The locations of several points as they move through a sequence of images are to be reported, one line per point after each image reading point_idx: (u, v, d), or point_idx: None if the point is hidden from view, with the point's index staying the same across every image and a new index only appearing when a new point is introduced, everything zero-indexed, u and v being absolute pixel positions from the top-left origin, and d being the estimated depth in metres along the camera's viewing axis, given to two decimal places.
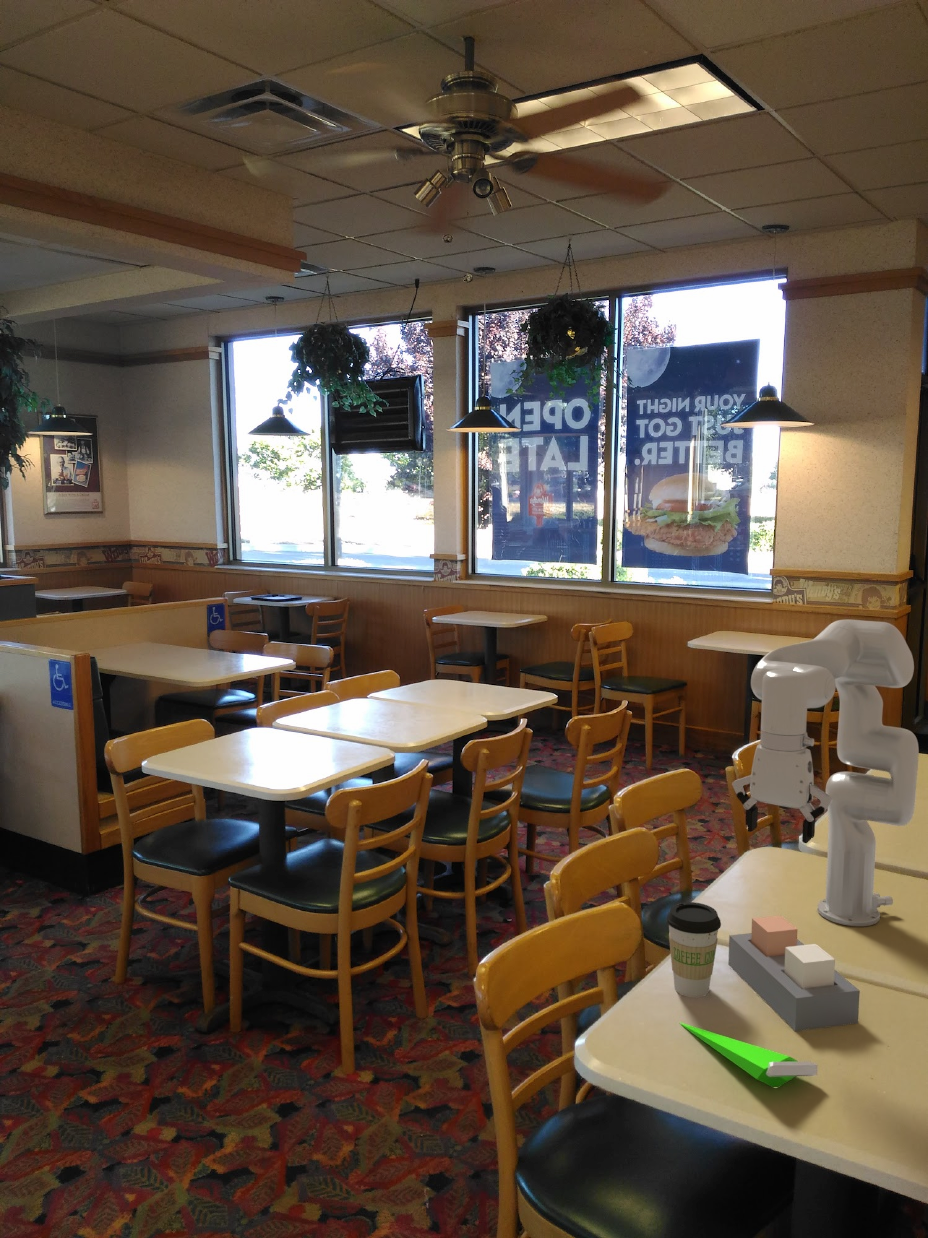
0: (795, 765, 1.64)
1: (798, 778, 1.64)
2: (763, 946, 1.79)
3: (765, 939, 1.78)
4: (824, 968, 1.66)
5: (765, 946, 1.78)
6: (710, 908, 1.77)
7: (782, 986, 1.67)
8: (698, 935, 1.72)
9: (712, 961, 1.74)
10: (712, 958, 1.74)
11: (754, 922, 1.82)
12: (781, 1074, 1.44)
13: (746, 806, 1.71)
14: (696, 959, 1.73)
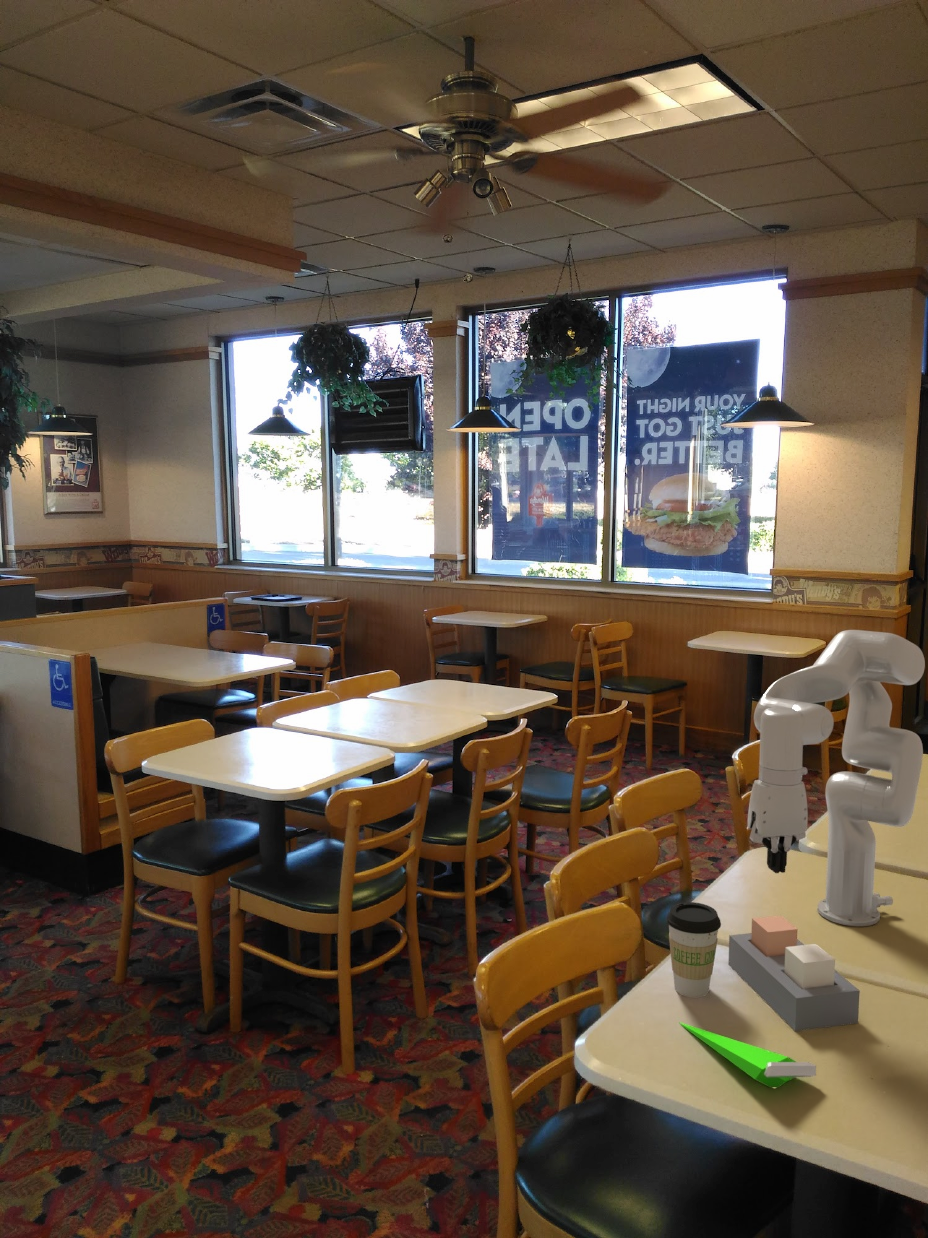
0: (801, 795, 1.76)
1: (803, 806, 1.76)
2: (763, 946, 1.79)
3: (765, 939, 1.78)
4: (824, 968, 1.66)
5: (765, 946, 1.78)
6: (710, 908, 1.77)
7: (782, 986, 1.67)
8: (698, 935, 1.72)
9: (712, 961, 1.74)
10: (712, 958, 1.74)
11: (754, 922, 1.82)
12: (779, 1074, 1.44)
13: (774, 850, 1.77)
14: (696, 959, 1.73)
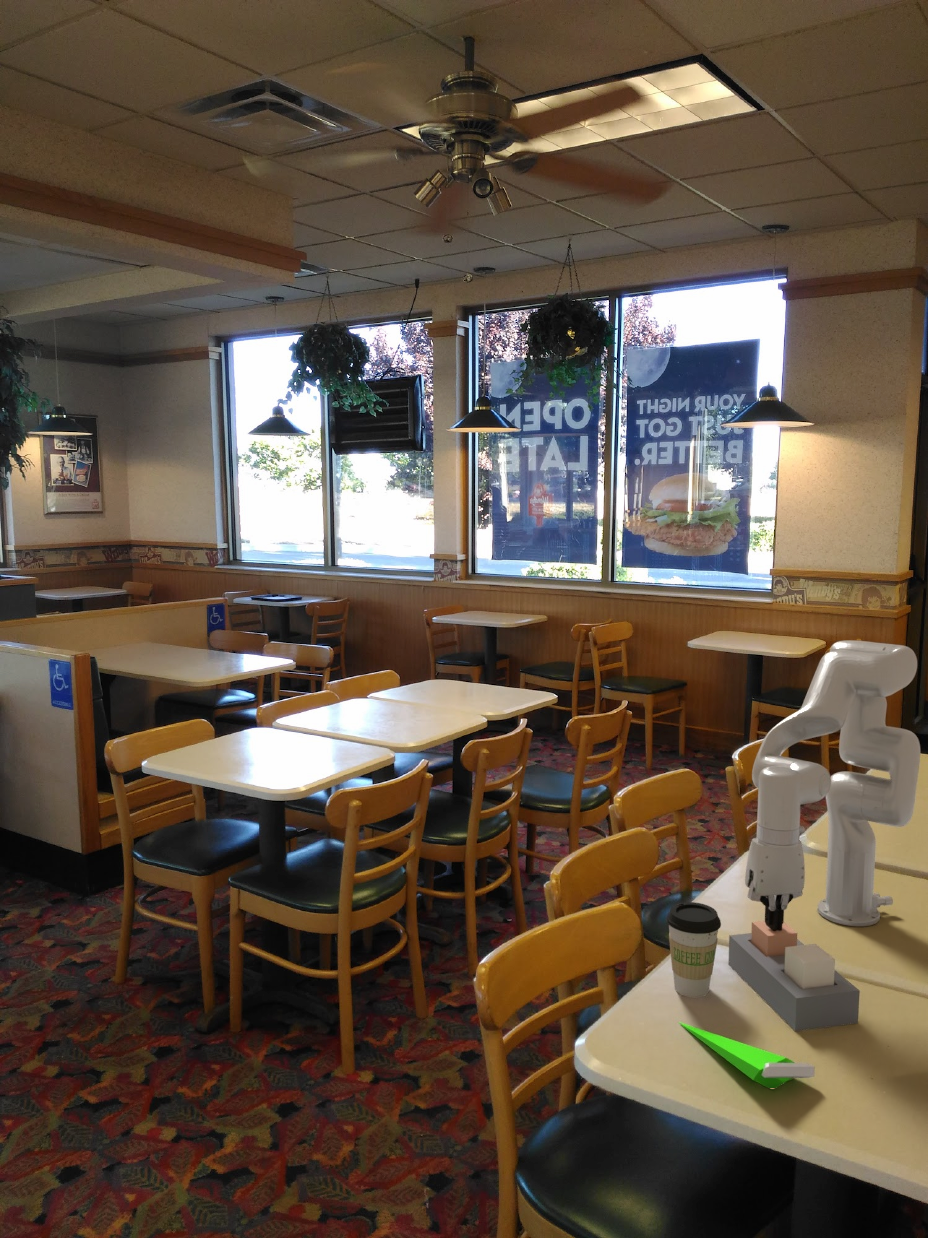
0: (798, 854, 1.77)
1: (800, 865, 1.78)
2: (763, 950, 1.79)
3: (765, 942, 1.78)
4: (824, 968, 1.66)
5: (765, 950, 1.78)
6: (710, 908, 1.77)
7: (782, 986, 1.67)
8: (698, 935, 1.72)
9: (712, 961, 1.74)
10: (712, 958, 1.74)
11: (754, 926, 1.82)
12: (777, 1075, 1.44)
13: (772, 908, 1.79)
14: (696, 959, 1.73)
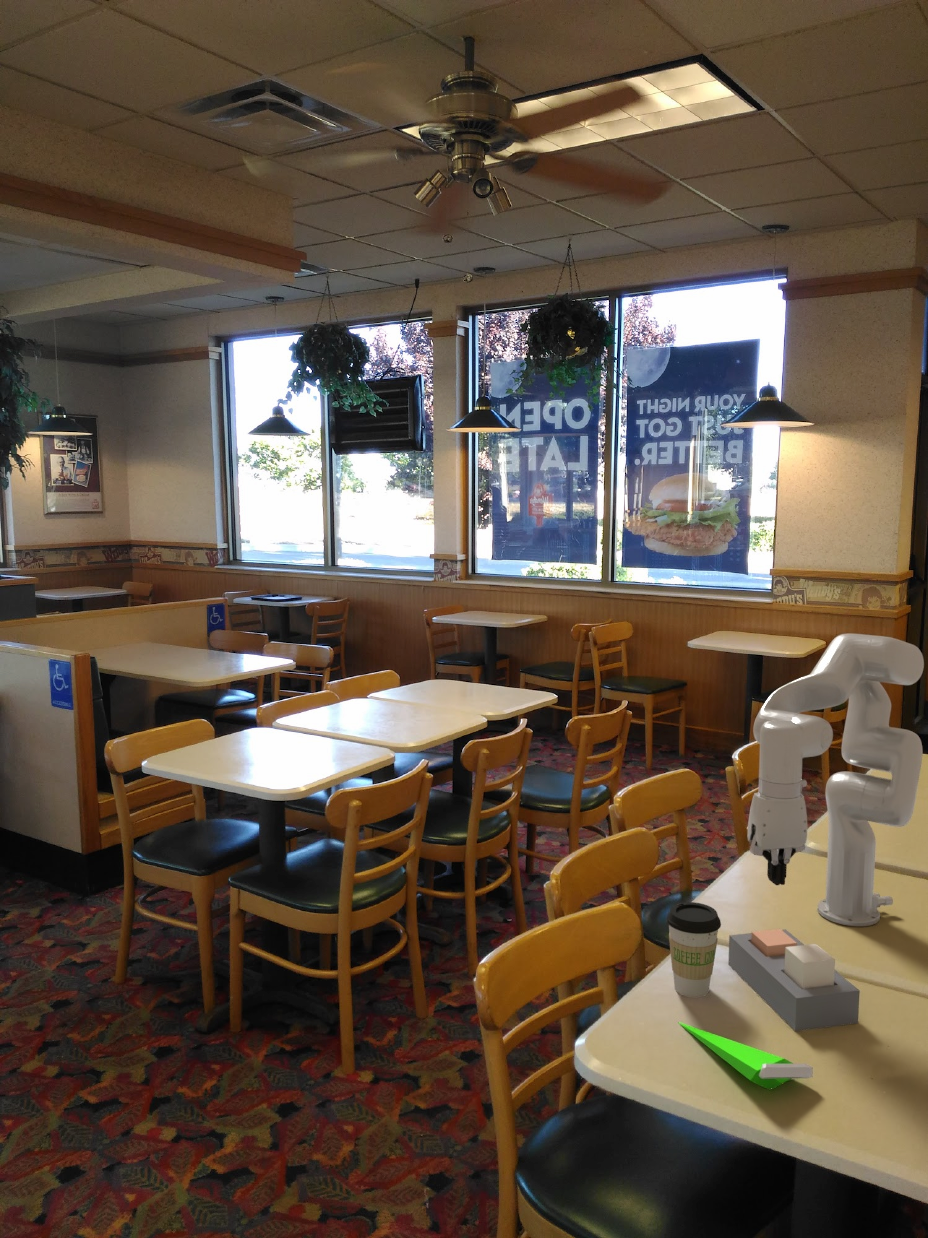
0: (800, 808, 1.76)
1: (802, 819, 1.77)
2: None
3: (764, 952, 1.79)
4: (824, 968, 1.66)
5: None
6: (710, 908, 1.77)
7: (782, 986, 1.67)
8: (698, 935, 1.72)
9: (712, 961, 1.74)
10: (712, 958, 1.74)
11: (754, 936, 1.82)
12: (774, 1076, 1.44)
13: (775, 862, 1.78)
14: (696, 959, 1.73)
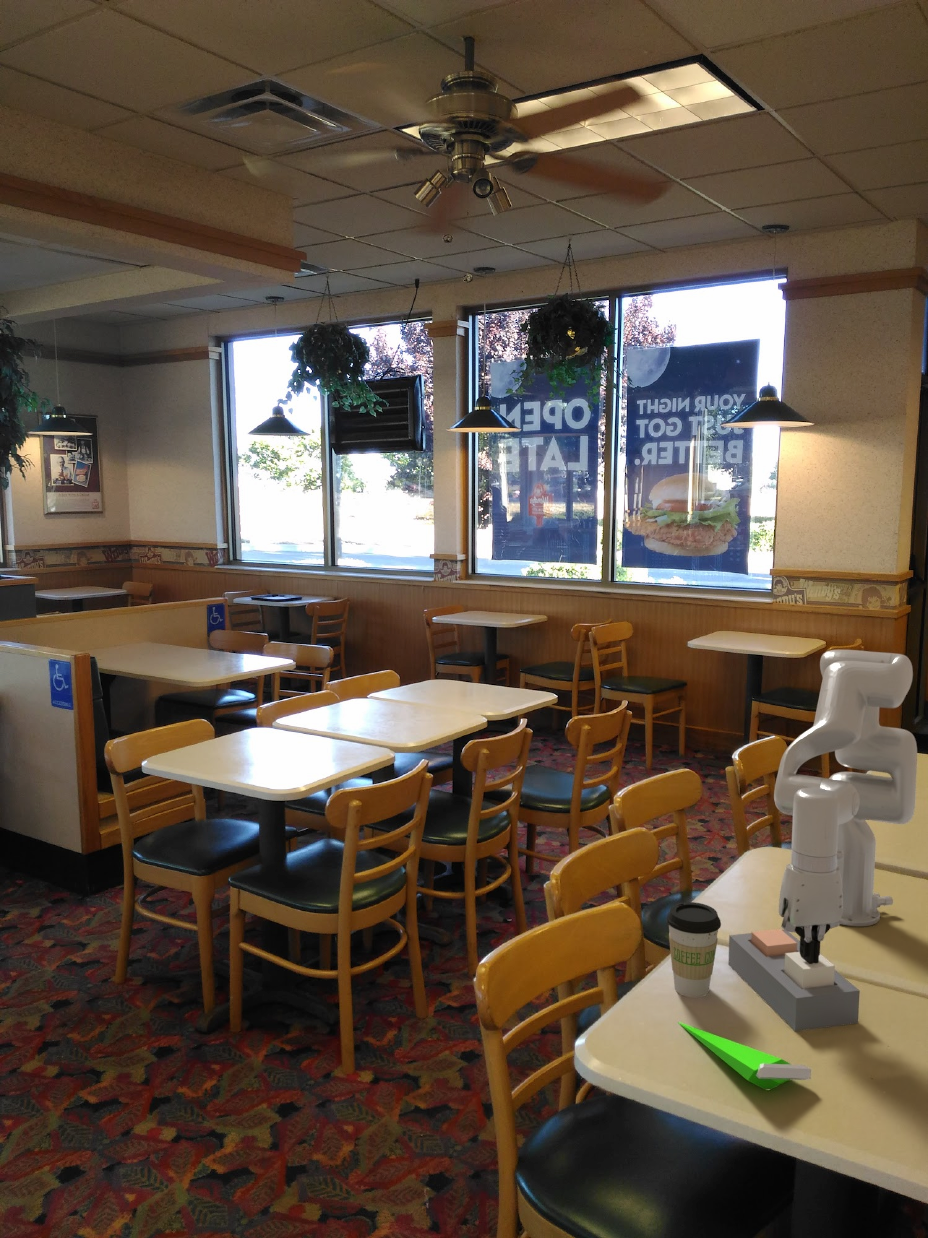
0: (836, 882, 1.66)
1: (838, 894, 1.66)
2: None
3: (764, 952, 1.79)
4: (824, 974, 1.67)
5: None
6: (710, 908, 1.77)
7: (782, 986, 1.67)
8: (698, 935, 1.72)
9: (712, 961, 1.74)
10: (712, 958, 1.74)
11: (754, 936, 1.82)
12: (771, 1076, 1.44)
13: (808, 939, 1.67)
14: (696, 959, 1.73)
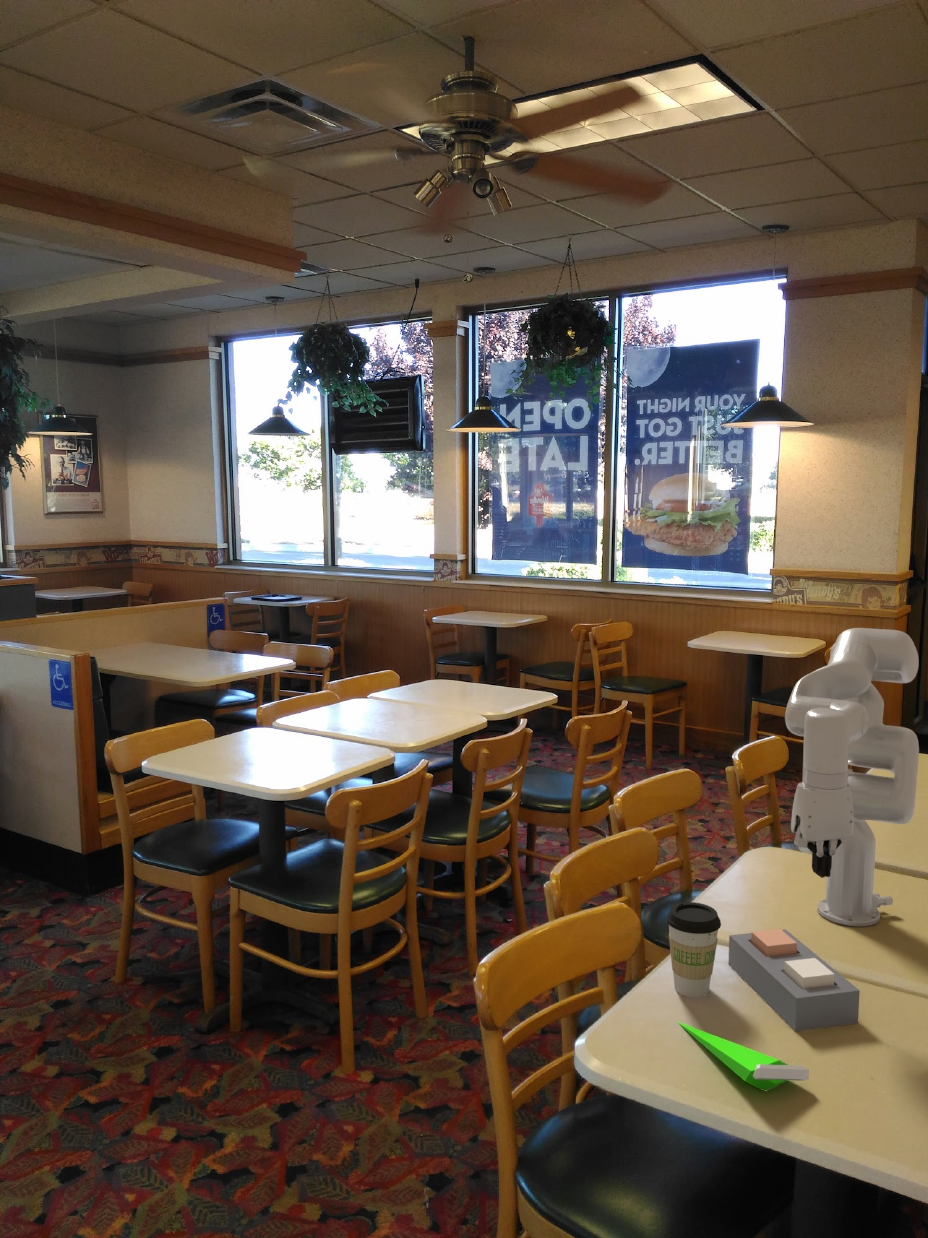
0: (847, 798, 1.70)
1: (849, 809, 1.71)
2: None
3: (764, 952, 1.79)
4: (824, 982, 1.67)
5: None
6: (710, 908, 1.77)
7: (782, 986, 1.67)
8: (698, 935, 1.72)
9: (712, 961, 1.74)
10: (712, 958, 1.74)
11: (754, 936, 1.82)
12: (768, 1077, 1.44)
13: (820, 854, 1.72)
14: (696, 959, 1.73)
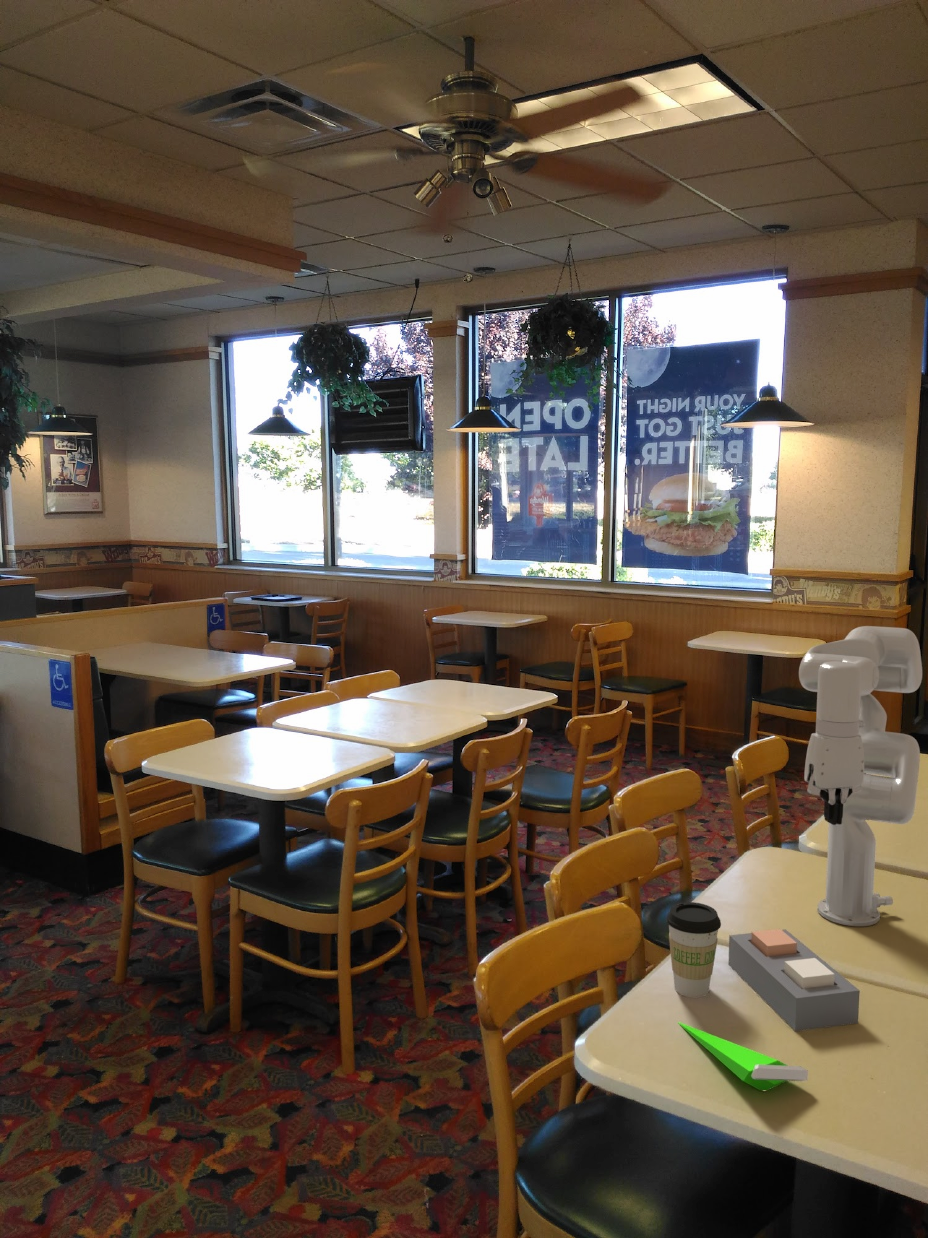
0: (858, 748, 1.78)
1: (860, 759, 1.79)
2: None
3: (764, 952, 1.79)
4: (824, 982, 1.67)
5: None
6: (710, 908, 1.77)
7: (782, 986, 1.67)
8: (698, 935, 1.72)
9: (712, 961, 1.74)
10: (712, 958, 1.74)
11: (754, 936, 1.82)
12: (766, 1077, 1.43)
13: (832, 802, 1.80)
14: (696, 959, 1.73)
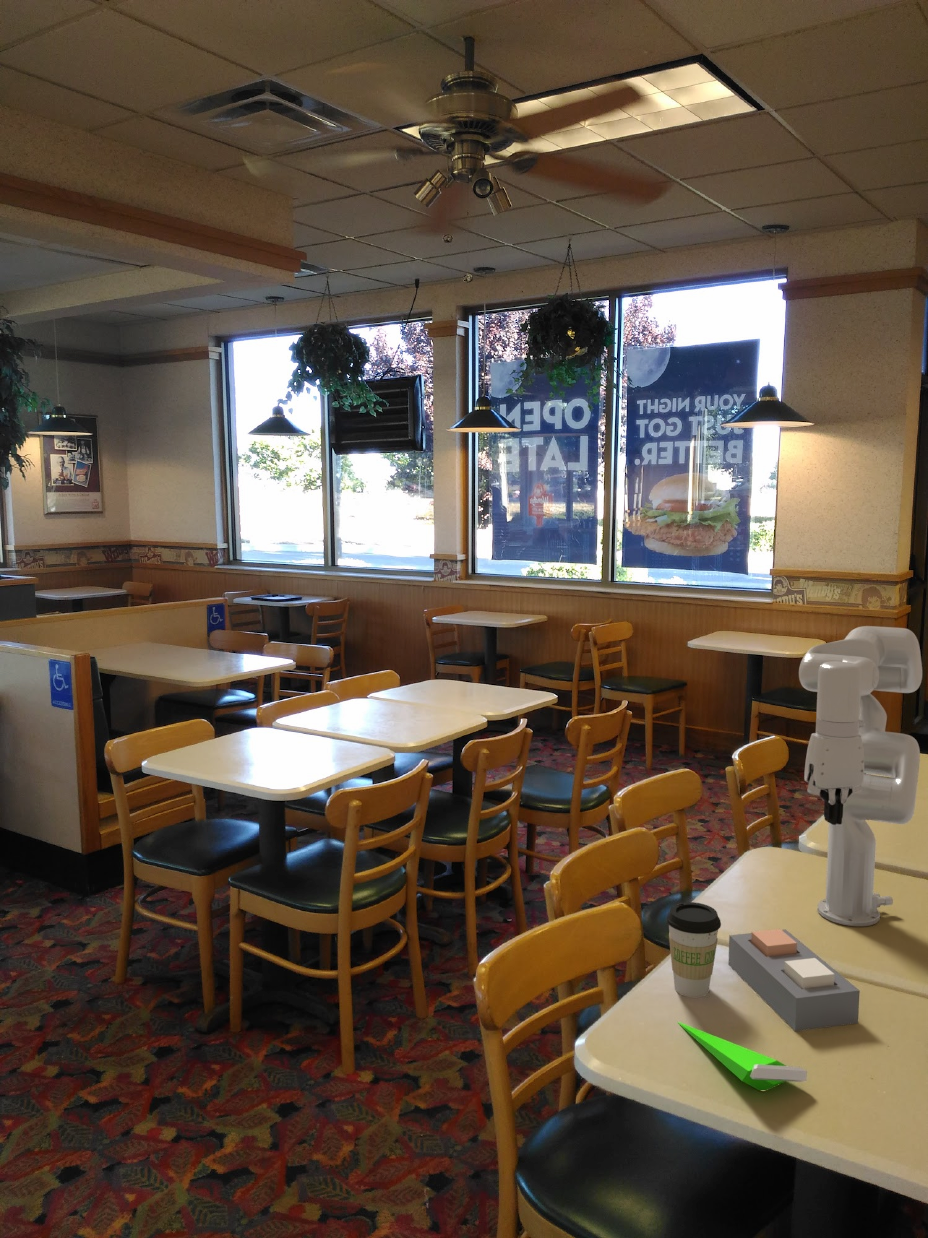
0: (858, 748, 1.78)
1: (860, 759, 1.79)
2: None
3: (764, 952, 1.79)
4: (824, 982, 1.67)
5: None
6: (710, 908, 1.77)
7: (782, 986, 1.67)
8: (698, 935, 1.72)
9: (712, 961, 1.74)
10: (712, 958, 1.74)
11: (754, 936, 1.82)
12: (765, 1077, 1.43)
13: (832, 802, 1.80)
14: (696, 959, 1.73)
